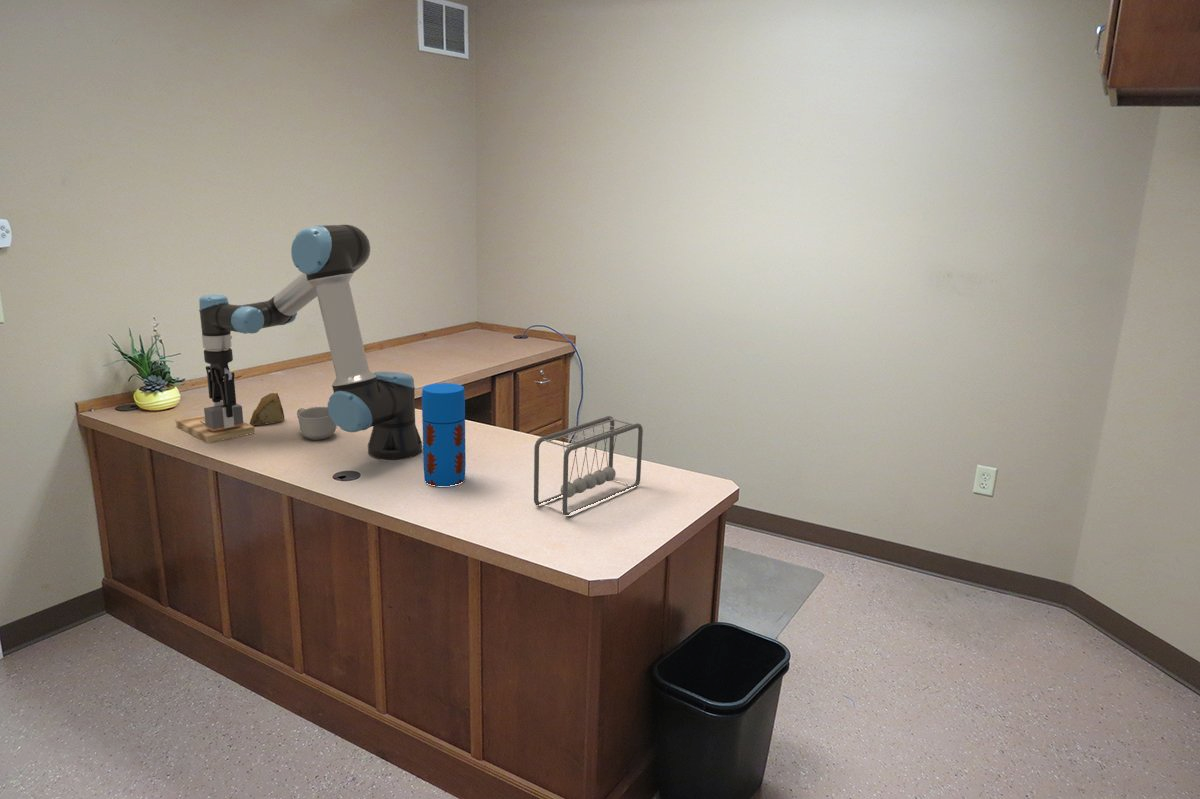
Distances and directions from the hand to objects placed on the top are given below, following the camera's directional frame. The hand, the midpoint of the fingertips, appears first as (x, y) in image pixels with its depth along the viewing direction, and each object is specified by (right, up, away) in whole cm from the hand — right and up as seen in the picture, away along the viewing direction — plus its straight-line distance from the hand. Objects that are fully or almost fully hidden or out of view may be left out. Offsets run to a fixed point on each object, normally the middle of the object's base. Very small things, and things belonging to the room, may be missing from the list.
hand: (224, 424), depth 244 cm
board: (-5, -2, +5) cm, 8 cm away
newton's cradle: (+109, -17, -37) cm, 116 cm away
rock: (+7, 0, +14) cm, 16 cm away
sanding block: (0, 0, 0) cm, 0 cm away
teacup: (+26, -4, +3) cm, 26 cm away
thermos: (+71, -14, -29) cm, 78 cm away
